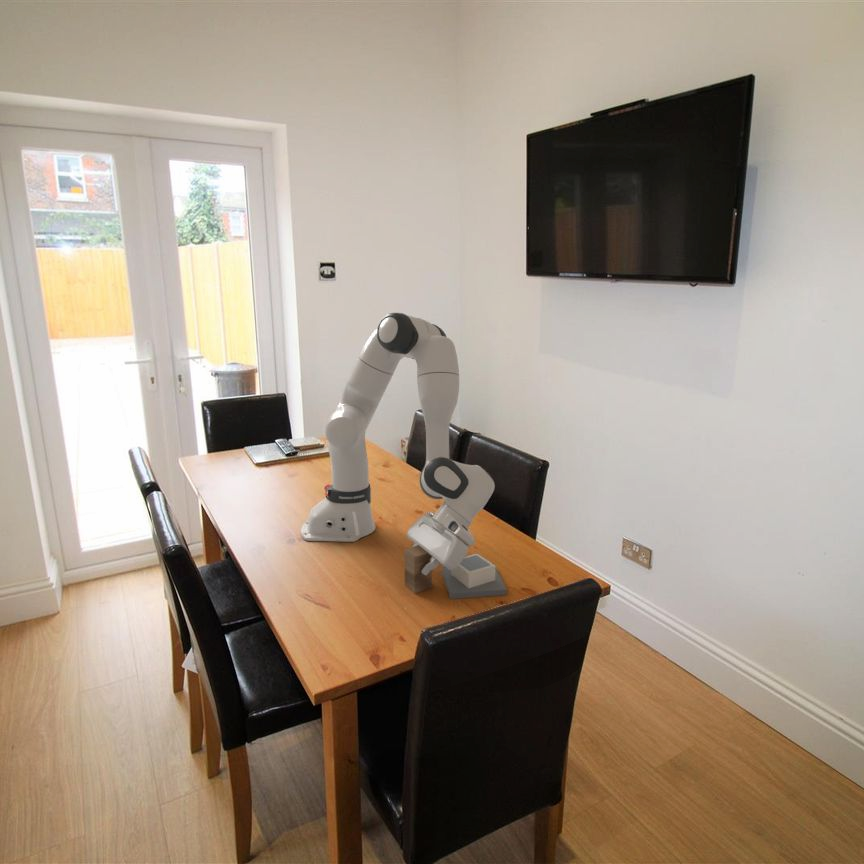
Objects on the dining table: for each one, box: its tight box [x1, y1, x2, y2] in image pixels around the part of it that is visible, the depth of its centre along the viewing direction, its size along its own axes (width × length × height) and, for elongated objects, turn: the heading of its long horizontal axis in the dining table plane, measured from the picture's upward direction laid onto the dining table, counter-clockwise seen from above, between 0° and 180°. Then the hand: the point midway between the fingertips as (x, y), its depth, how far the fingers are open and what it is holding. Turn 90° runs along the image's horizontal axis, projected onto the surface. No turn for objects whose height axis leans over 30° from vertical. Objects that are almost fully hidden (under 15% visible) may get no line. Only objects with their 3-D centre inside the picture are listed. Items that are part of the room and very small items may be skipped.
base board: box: [441, 553, 508, 600], centre depth 156 cm, size 14×14×6 cm
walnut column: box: [403, 545, 433, 595], centre depth 154 cm, size 5×5×10 cm
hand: (416, 567), depth 153 cm, fingers closed on walnut column, 5 cm apart
